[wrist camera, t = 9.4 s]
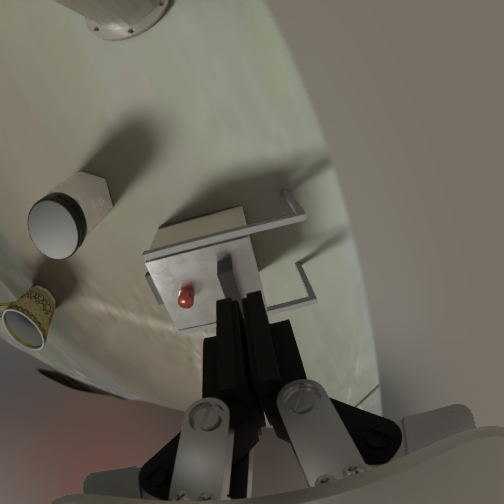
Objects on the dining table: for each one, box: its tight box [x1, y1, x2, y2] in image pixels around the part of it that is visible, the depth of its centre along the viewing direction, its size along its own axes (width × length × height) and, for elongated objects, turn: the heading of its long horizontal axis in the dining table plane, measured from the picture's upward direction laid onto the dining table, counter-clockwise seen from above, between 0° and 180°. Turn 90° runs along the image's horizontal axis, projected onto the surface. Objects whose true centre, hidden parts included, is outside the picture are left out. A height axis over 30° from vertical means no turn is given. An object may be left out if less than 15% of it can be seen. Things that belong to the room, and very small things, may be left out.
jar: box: [28, 171, 113, 260], centre depth 34 cm, size 9×8×12 cm
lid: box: [145, 234, 267, 329], centre depth 36 cm, size 11×13×4 cm
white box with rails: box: [142, 189, 317, 334], centre depth 41 cm, size 14×22×10 cm, turn 102°
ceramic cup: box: [0, 285, 56, 351], centre depth 42 cm, size 13×10×10 cm
